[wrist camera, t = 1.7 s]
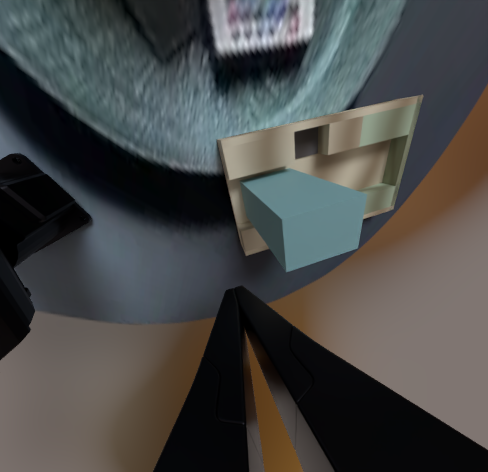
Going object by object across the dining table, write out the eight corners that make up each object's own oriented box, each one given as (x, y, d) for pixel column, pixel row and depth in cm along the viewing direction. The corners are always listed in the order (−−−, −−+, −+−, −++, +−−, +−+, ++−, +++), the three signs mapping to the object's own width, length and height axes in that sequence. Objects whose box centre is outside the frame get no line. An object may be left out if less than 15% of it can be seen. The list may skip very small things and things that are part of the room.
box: (241, 245, 23) (246, 255, 21) (216, 139, 17) (220, 140, 15) (377, 203, 26) (393, 209, 24) (399, 98, 20) (423, 94, 18)
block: (246, 215, 21) (286, 272, 12) (239, 180, 19) (281, 219, 10) (291, 203, 21) (357, 248, 13) (289, 168, 19) (367, 194, 11)
